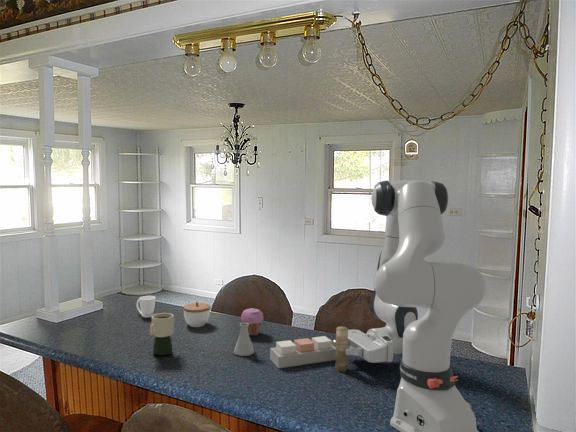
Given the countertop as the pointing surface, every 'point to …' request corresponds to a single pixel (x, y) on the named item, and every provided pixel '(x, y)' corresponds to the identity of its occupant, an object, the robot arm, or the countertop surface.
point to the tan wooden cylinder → (341, 348)
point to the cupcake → (252, 320)
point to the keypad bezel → (302, 357)
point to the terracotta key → (304, 345)
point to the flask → (244, 342)
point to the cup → (146, 305)
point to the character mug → (162, 332)
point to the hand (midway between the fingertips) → (339, 347)
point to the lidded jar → (196, 314)
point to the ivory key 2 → (322, 343)
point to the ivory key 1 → (285, 347)
